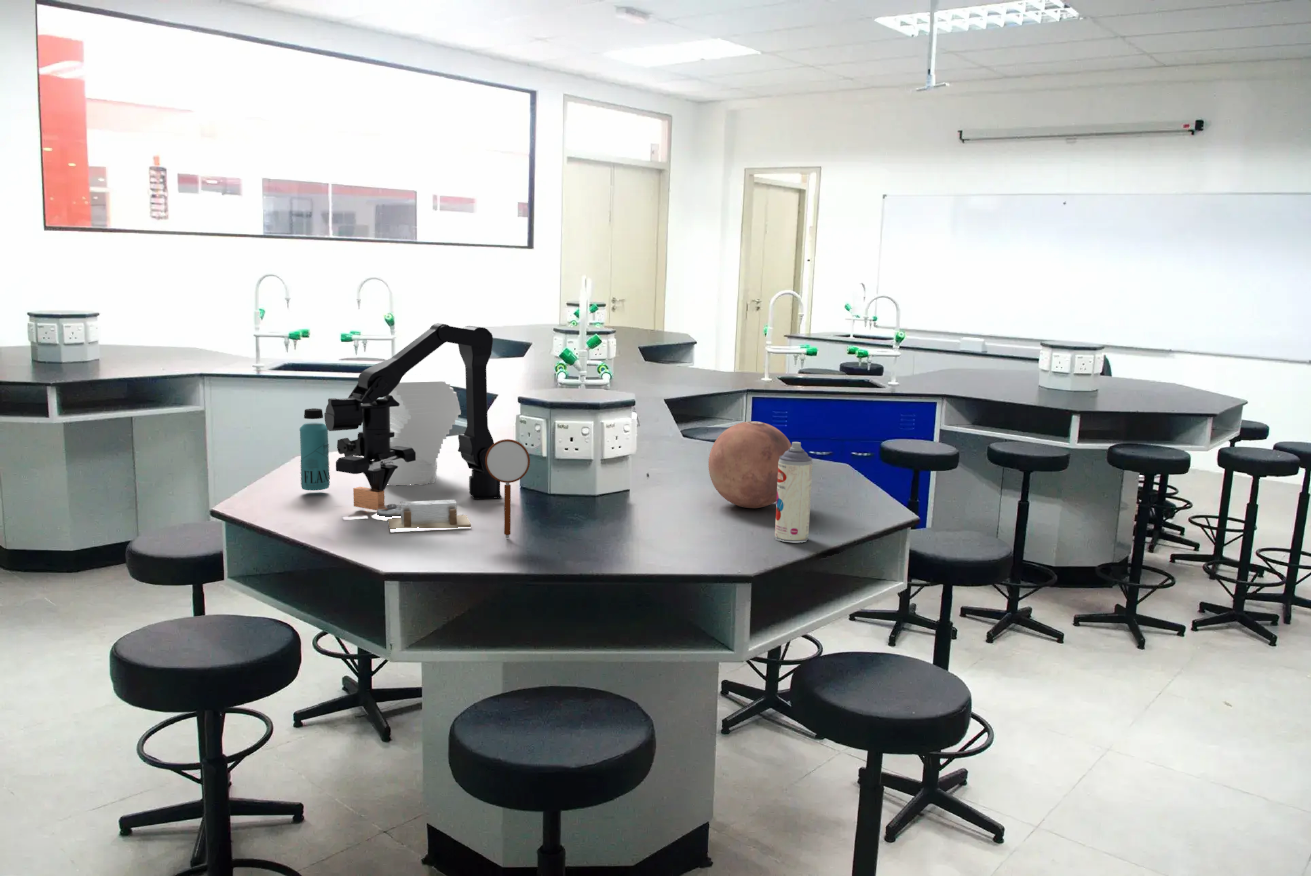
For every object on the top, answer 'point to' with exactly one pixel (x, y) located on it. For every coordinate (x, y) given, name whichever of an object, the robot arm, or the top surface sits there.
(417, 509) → the bar
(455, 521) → the rack
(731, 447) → the planet model
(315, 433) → the beverage bottle
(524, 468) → the magnifying glass
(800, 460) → the aerosol can
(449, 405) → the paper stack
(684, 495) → the top surface
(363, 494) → the wooden building block
